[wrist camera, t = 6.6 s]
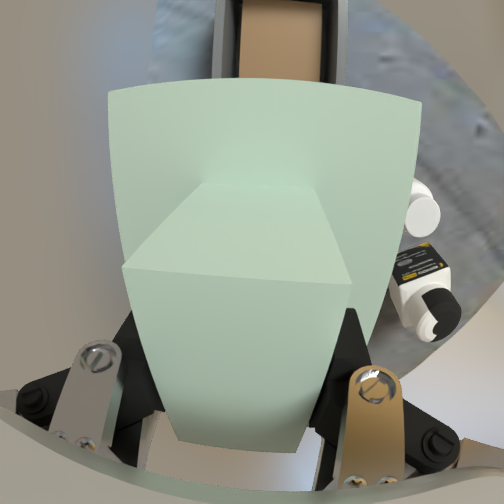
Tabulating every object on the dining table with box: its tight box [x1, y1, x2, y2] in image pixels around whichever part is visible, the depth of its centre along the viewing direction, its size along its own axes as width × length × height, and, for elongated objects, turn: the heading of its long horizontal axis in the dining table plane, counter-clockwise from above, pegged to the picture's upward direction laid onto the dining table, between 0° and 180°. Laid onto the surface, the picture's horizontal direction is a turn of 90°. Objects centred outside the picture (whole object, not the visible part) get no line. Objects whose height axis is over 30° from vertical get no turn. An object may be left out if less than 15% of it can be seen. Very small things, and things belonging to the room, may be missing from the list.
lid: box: [108, 78, 422, 453], centre depth 10 cm, size 15×12×8 cm
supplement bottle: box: [403, 178, 440, 237], centre depth 27 cm, size 5×5×10 cm
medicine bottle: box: [388, 242, 461, 342], centre depth 31 cm, size 7×7×12 cm
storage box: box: [212, 0, 348, 86], centre depth 22 cm, size 14×11×8 cm
